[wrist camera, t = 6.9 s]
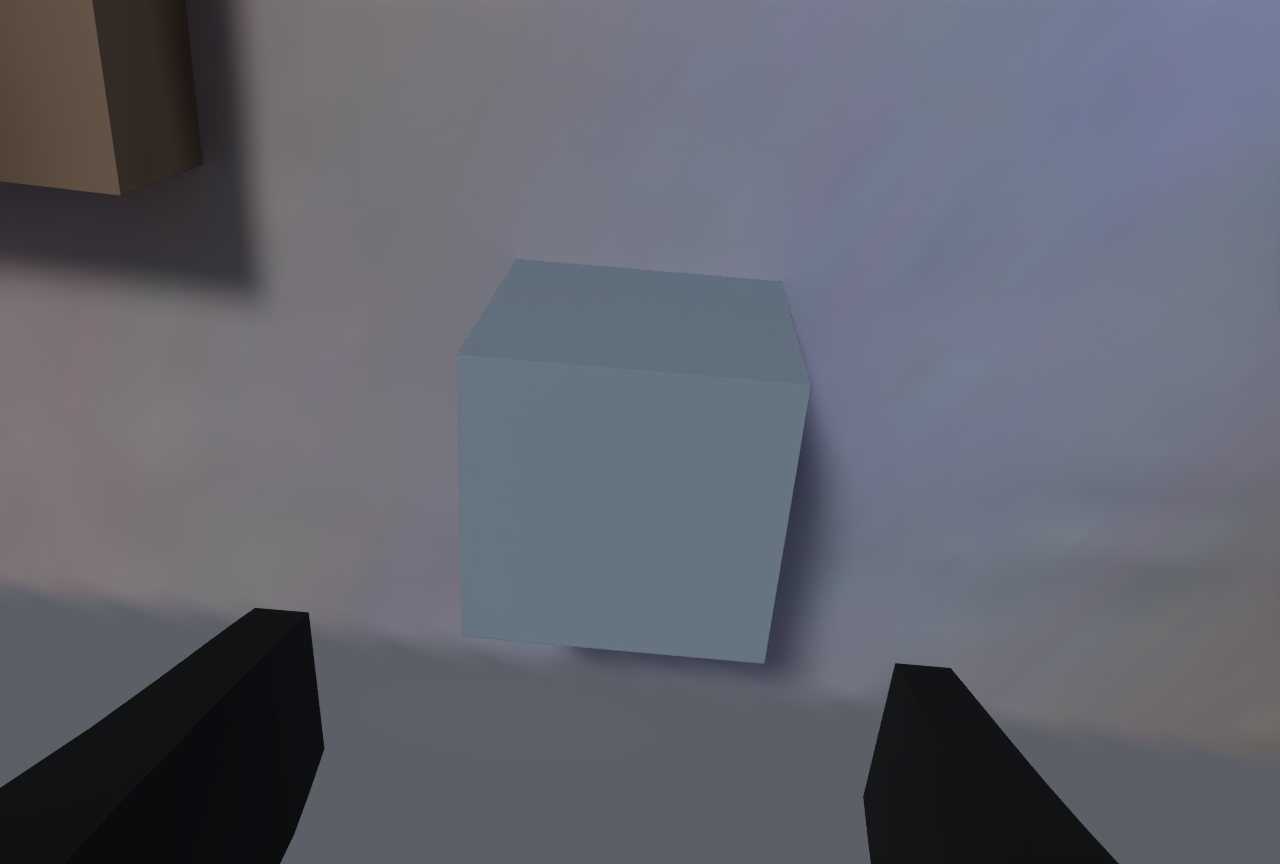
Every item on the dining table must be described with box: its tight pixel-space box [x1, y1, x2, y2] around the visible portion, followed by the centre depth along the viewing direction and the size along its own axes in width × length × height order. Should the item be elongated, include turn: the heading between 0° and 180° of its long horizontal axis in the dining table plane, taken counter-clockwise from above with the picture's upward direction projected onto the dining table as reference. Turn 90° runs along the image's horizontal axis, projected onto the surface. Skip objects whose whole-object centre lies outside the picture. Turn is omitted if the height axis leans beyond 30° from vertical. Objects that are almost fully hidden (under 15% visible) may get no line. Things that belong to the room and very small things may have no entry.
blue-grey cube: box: [457, 259, 811, 664], centre depth 16 cm, size 5×5×5 cm
